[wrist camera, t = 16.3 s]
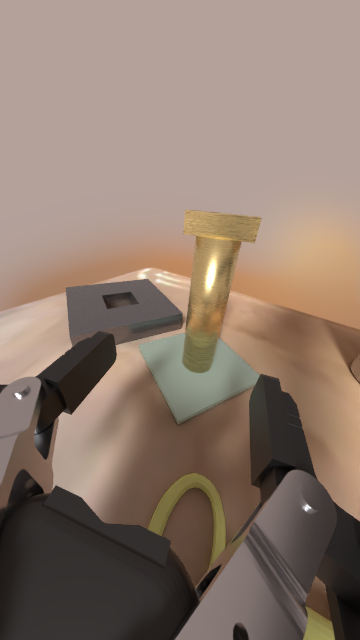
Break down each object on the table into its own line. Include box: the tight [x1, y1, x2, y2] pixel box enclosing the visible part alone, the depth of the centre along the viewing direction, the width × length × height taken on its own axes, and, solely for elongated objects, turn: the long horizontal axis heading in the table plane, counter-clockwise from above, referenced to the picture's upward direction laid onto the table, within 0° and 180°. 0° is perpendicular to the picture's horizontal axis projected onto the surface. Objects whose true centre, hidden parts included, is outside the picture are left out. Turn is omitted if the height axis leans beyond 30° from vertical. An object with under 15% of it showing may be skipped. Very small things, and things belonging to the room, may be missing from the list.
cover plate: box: [66, 279, 183, 346], centre depth 33 cm, size 16×16×3 cm
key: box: [147, 473, 335, 640], centre depth 11 cm, size 7×12×2 cm, turn 85°
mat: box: [139, 333, 260, 424], centre depth 25 cm, size 12×12×1 cm
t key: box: [182, 210, 261, 373], centre depth 20 cm, size 6×4×17 cm, turn 74°
